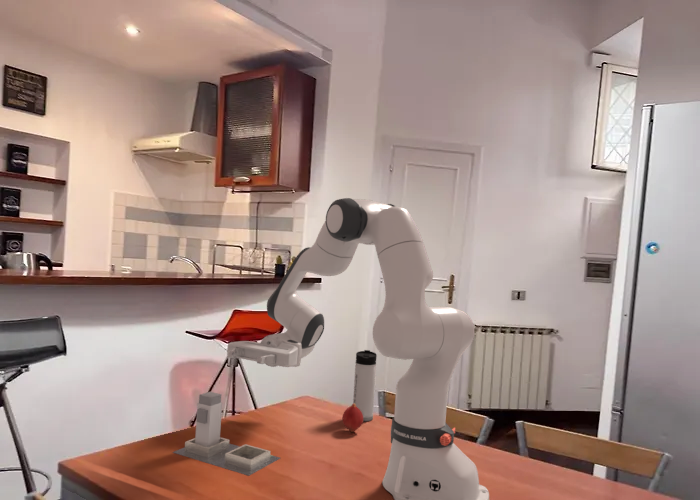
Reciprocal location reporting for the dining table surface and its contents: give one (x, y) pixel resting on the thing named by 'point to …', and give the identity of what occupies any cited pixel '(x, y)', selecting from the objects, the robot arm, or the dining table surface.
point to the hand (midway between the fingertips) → (244, 357)
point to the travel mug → (365, 383)
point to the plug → (208, 419)
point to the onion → (352, 418)
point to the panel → (229, 456)
